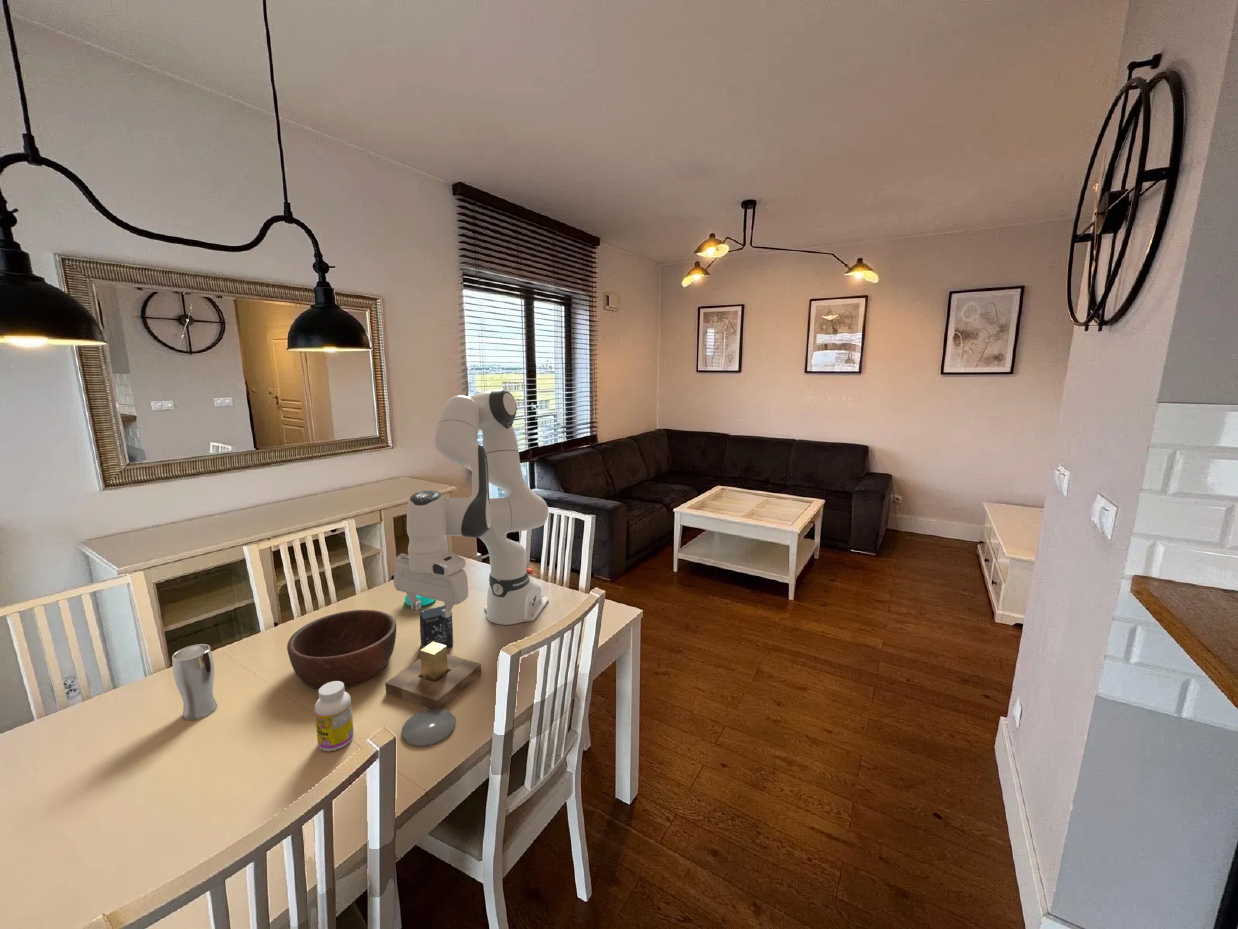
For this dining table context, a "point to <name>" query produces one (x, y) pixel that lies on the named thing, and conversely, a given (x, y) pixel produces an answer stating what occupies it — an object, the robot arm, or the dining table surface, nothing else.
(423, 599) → the donuts
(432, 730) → the coaster
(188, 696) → the beer glass
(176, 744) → the dining table surface
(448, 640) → the box
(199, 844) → the dining table surface
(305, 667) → the wooden bowl
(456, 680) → the pocket
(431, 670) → the part
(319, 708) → the supplement bottle
